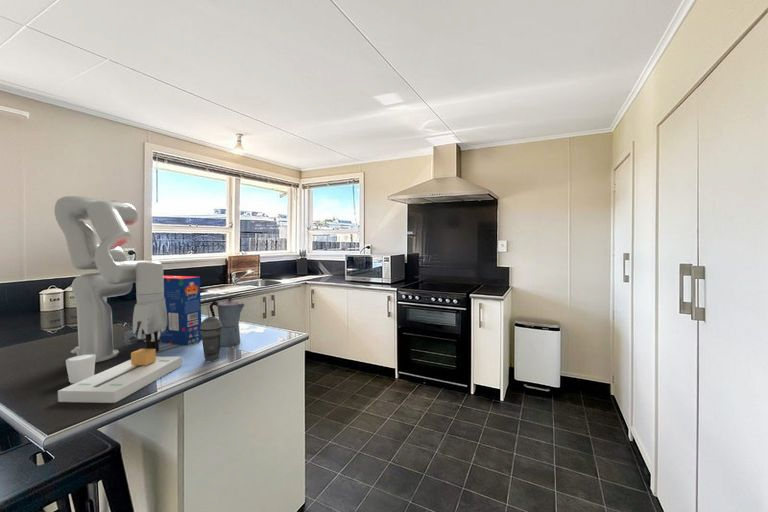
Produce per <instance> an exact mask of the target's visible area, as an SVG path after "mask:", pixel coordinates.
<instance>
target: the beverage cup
mask: <svg viewBox="0 0 768 512" xmlns="http://www.w3.org/2000/svg"><path fill="white" fill-rule="evenodd" d="M206 309H207V317H206V318H204V319H203V320H201V325H200V333H201V335H202V340H201V341H202V350H203V355H204V356H203V357H204V361H205V362H207V361H211V362H215V361H214V360H216V361H218V360H219V359H220V353H221V352H220V351H221V346H220V338H221V331H222V324H221V322H220V320H219V317H218V318H217V317H216V316H215V317H213V316H211V315H210V314H211V313H210V305H209V304H206ZM217 359H218V360H217Z"/></svg>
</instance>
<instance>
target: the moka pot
mask: <svg viewBox="0 0 768 512" xmlns="http://www.w3.org/2000/svg"><path fill="white" fill-rule="evenodd" d="M232 298H233V297H232V296H228V297H227V300H225V301H221V300H220V301H217V300H213V301H212V302H211V303H210V305H209V312H210V314H211V317H216V314H215V311H214V308H213V306H215V307H217V313H218V319H219V320H220V322H221V324H222V331H221V338H220V347H234V346H237V345H240V343H241V336H240V335H241V334H240V333H241V332H240V324H239V323H240V319H241V313H242V311H243V309H244V307H245V306H246V304H245V303H243V302H242V301H237V300H232Z"/></svg>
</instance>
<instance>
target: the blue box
mask: <svg viewBox="0 0 768 512" xmlns="http://www.w3.org/2000/svg"><path fill="white" fill-rule="evenodd" d="M163 277H164V300H165V304H166V310H167V326H166V327H165V331H163V332H162V333H161V335H160V339H159V343H161V344H168V343H169V345H177V346H183V345H184V346H183V347H186V346H189V345H191V343H192V344H194V342H195V343H197V342H196V341H198V342H200V341H199V340H201V341H202V335H201V333H200V325H201V323H202V306H201V305H202V303H201V300H202V298H201V276H186V275H163ZM138 340H139V341H144V339H138ZM188 344H189V345H188ZM185 345H186V346H185Z"/></svg>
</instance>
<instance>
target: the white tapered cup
mask: <svg viewBox="0 0 768 512" xmlns="http://www.w3.org/2000/svg"><path fill="white" fill-rule="evenodd" d="M95 357H96V355H95V354H85V355H79V356H77V355H75V356H72V357H69V358H67V359H66V360H65V365H66V371H67V375H68V376H67V377H68V382H70V384H75V383H77V382H80V381H82V380H84V379H86V378H89V377H91V376H93V375H95V369H96V368H95V367H96V366H95V365H96V363H95Z"/></svg>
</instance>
